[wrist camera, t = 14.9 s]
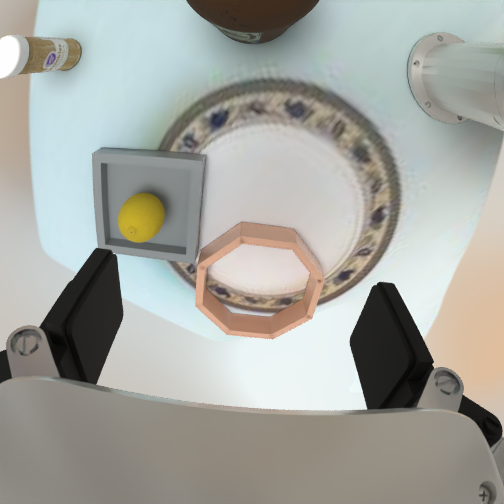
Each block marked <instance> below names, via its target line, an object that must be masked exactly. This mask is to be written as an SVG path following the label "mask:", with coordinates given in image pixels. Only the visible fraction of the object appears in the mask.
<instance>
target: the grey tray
mask: <svg viewBox="0 0 504 504" xmlns="http://www.w3.org/2000/svg"><path fill="white" fill-rule="evenodd" d="M205 159H206V155H201V154H191V153H180V152H169V151H156V150H141V149H123V148H100V149H99V150H97V151H95V152H94V153H92V167H93V192H94V208H95V221H96V232H97V242H98V248H102V249H110V250H112V252H113V253H116V254H124V255H131V256H139V257H146V258H154V259H161V260H169V261H177V262H185V263H193V264H195V261H196V257H197V254H198V243H199V228H200V215H201V203H202V191H203V180H204V169H205ZM137 193H150V194H153V195H154V196H156V197H157V198H158V199H159V200H160V201H161V203H162V204H163V207H164V210H165V218H164V223H163V225H162V227H161V229H160V231H159V232H158V233H157V234H156V235H155V236H154V237H153V238H151V239H150V240H148V241H145V242H142V243H136V242H132V241H130V240H128V239H126V238H125V237H124V236H123V235H122V233H121V232H120V230H119V227H118V215H119V211H120V209H121V207H122V205H123V204H124V202H125V201H126V200H127V199H128V198H130V197H131V196H133V195H135V194H137Z"/></svg>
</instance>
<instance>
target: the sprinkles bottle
mask: <svg viewBox="0 0 504 504" xmlns="http://www.w3.org/2000/svg"><path fill="white" fill-rule="evenodd" d="M80 55H81V48H80V45H79V43H78V42H77V41H76V40H74V39H61V38H50V37H24V36H21V35H8V36H5V37H3V38H2V39H0V78H10V77H14V76H16V75H19V74H28V73H42V72H52V71H56V70H61V71H66V70H69V69H71V68H73V67H74V66H75V64H77V62H78V60H79V59H80Z"/></svg>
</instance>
